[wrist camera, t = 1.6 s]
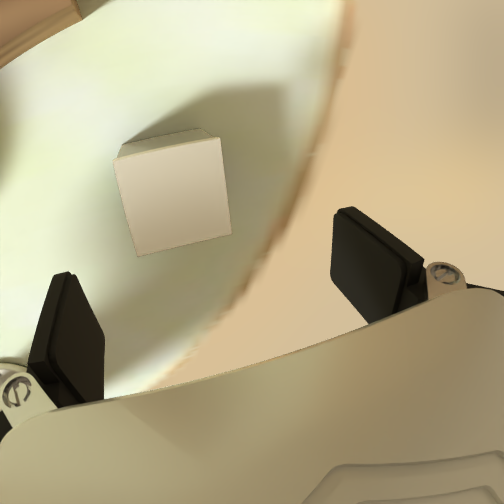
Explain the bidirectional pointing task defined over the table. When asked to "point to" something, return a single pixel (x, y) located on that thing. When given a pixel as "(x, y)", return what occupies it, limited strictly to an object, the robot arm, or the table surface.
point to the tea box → (32, 24)
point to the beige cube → (173, 190)
